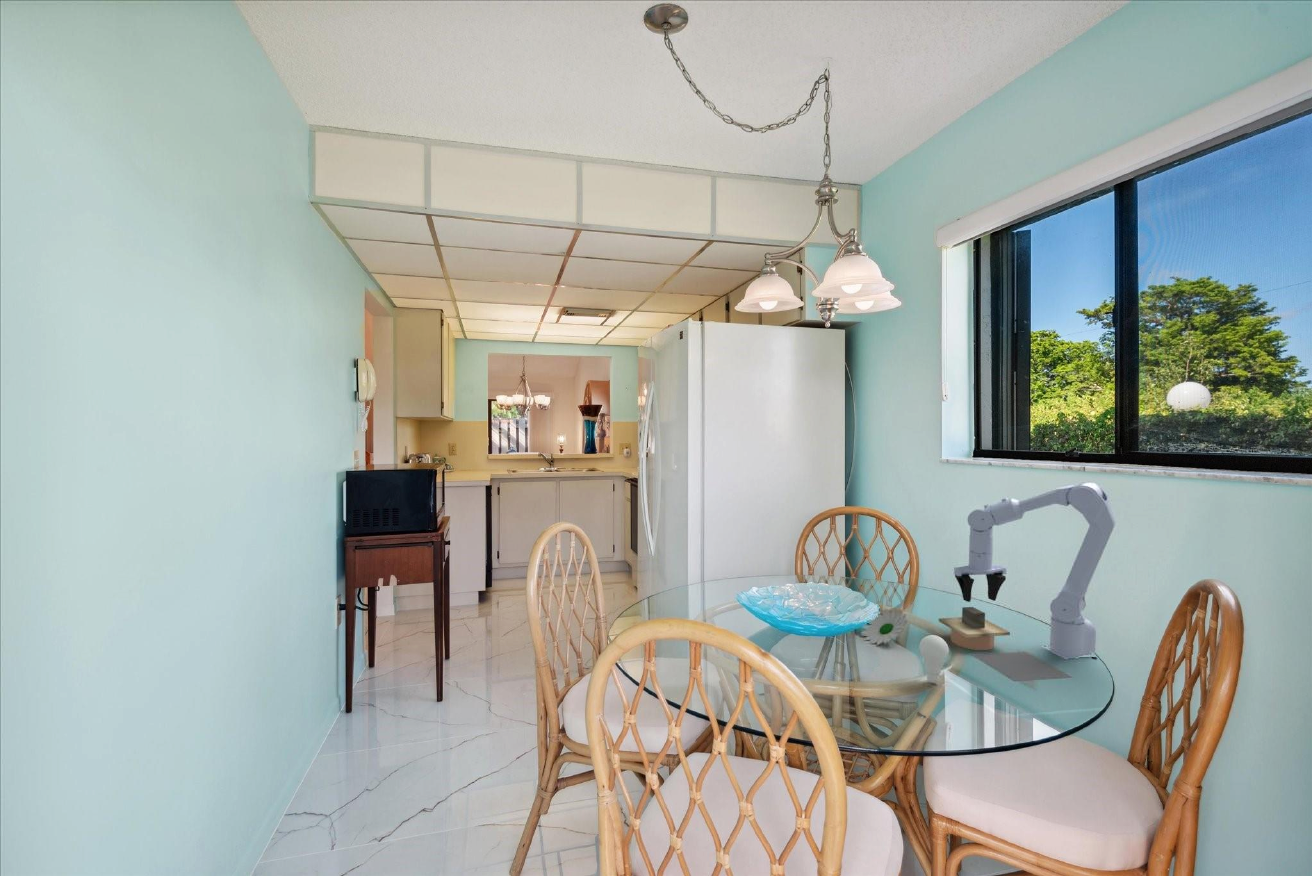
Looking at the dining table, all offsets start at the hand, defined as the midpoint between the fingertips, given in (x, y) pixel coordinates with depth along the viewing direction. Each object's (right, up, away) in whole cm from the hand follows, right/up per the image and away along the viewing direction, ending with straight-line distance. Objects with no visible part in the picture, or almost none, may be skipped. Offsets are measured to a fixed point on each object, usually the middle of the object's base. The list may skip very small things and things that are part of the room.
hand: (979, 600), depth 170 cm
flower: (-28, -10, +4) cm, 30 cm away
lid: (-6, -5, -8) cm, 11 cm away
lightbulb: (-27, -11, -31) cm, 42 cm away
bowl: (-6, -10, -7) cm, 14 cm away
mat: (-2, -11, -22) cm, 24 cm away
